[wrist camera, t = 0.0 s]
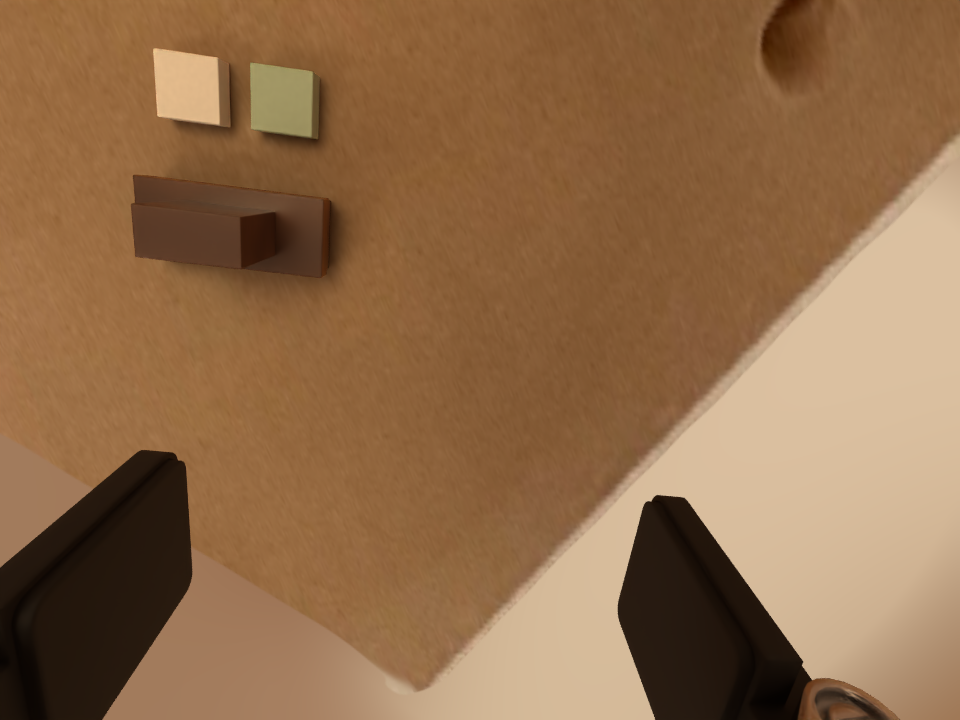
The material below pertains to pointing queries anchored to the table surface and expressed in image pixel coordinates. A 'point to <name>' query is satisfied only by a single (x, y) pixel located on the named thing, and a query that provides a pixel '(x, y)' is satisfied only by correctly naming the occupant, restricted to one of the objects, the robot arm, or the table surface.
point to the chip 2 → (284, 101)
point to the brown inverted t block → (230, 226)
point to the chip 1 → (192, 88)
